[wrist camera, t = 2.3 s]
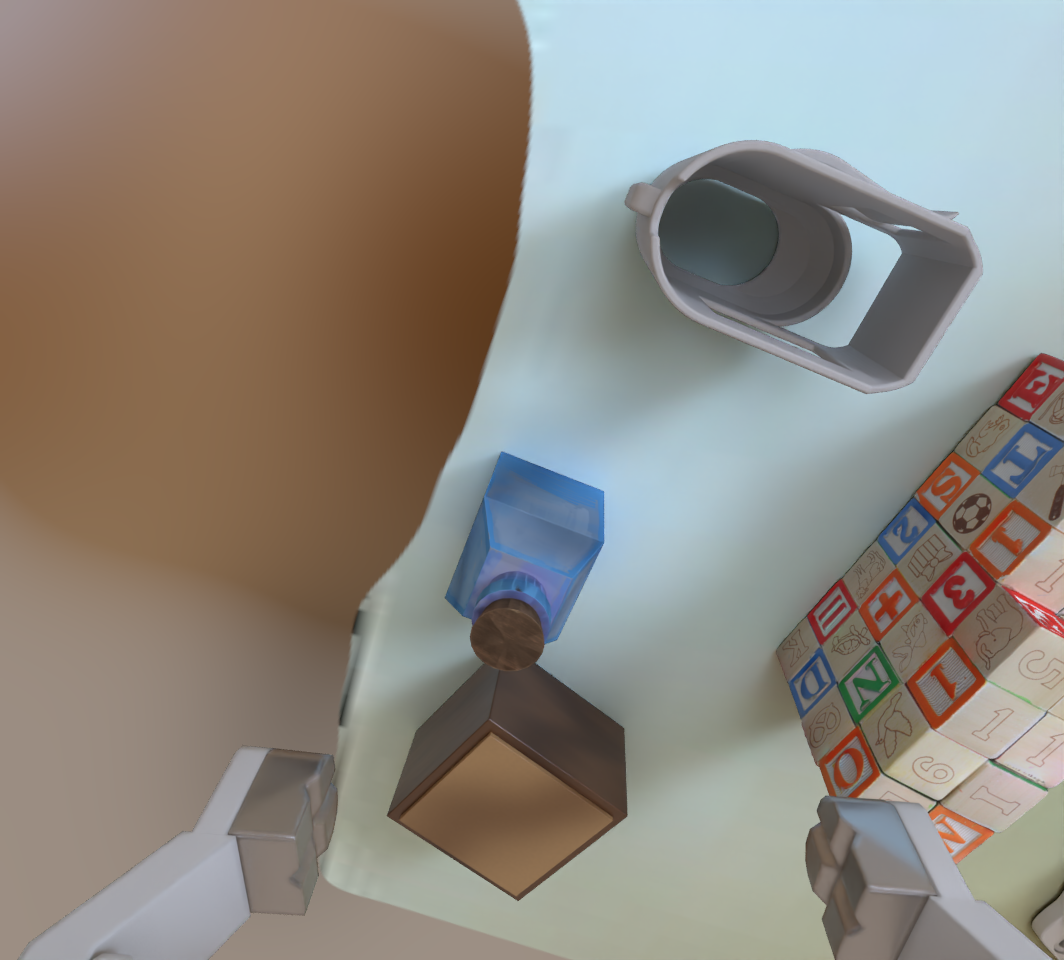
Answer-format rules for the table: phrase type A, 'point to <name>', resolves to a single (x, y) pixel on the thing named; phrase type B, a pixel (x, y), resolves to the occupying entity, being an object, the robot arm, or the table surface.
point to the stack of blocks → (952, 633)
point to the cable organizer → (819, 262)
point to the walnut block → (513, 777)
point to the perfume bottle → (526, 561)
